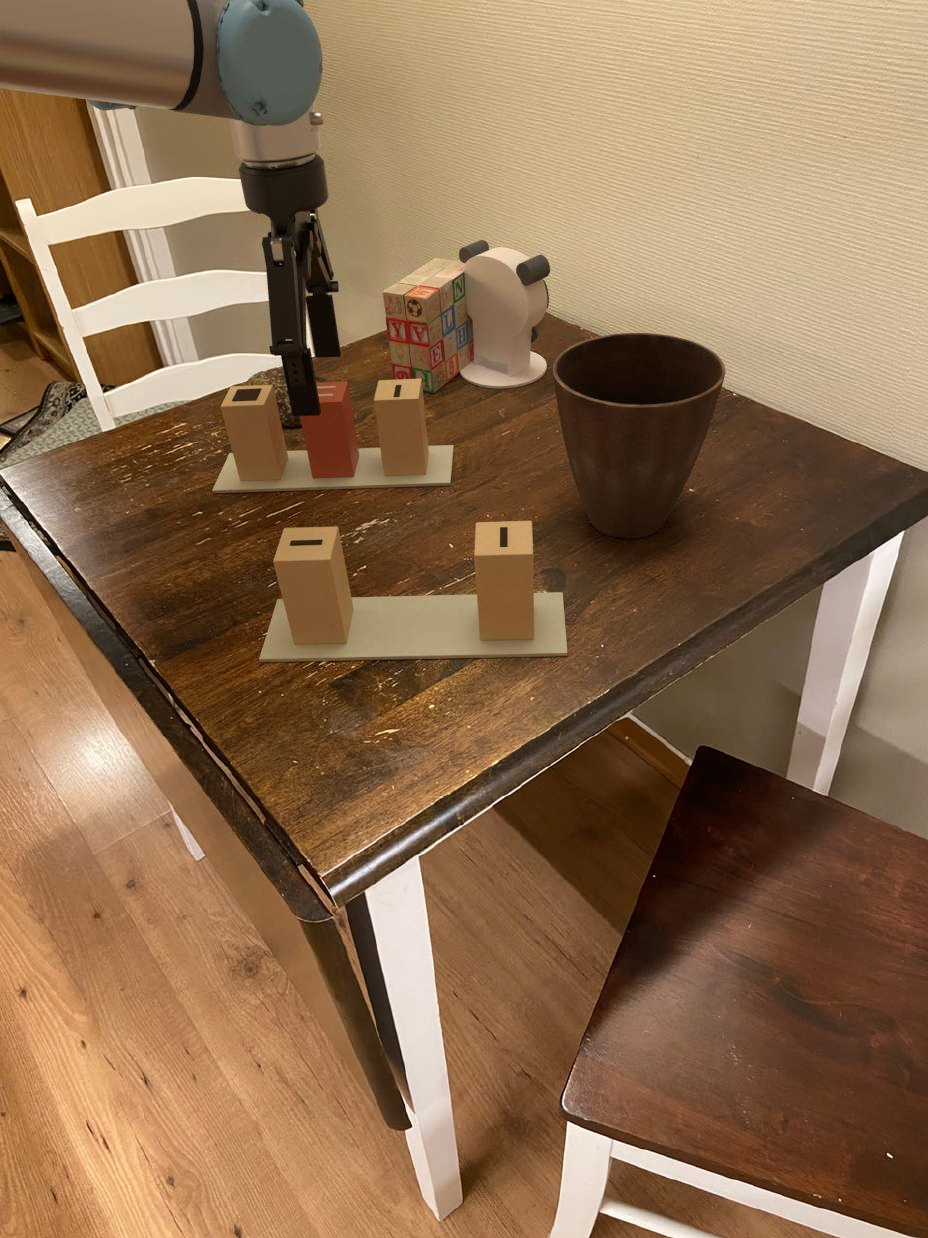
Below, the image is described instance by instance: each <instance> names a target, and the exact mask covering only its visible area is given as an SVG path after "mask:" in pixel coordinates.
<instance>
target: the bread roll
mask: <svg viewBox="0 0 928 1238" xmlns="http://www.w3.org/2000/svg"><path fill="white" fill-rule="evenodd" d="M315 379H316V383H322V382H333V381H332V380H330V379H328V378H326V377H323V376H321V375H320V374H318V373H315ZM256 385H273V388H274V393H275V398H276V402H277V407H278V412H279V416H280V421H281V425H282V427H285V428H286V427H287V428H297V427H300V426H302V423H301V418H300V416H292V411H291V406H290V401H289V395H288V390H287V385H286V380H285V375H284V370H283V365H281V366H278V367H277V366H276V367H272V368H269V369H267V370H260V371H258V372H255V373H254V374H252V375H251V376H250V377H249V378H247V380H246V381H242V384H240V385H239V386H256Z"/></svg>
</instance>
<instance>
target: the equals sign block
mask: <svg viewBox="0 0 928 1238" xmlns="http://www.w3.org/2000/svg"><path fill="white" fill-rule="evenodd" d="M316 384H317V390H318V396H319V402H320V408H321V414H320V415H318V416H300V418H301V423H302V425H301V427H302V432H303V438H304V442H305V447H306V450H307V453H308V458H309V463H310V468H311V473H312V478H338V477H354V475H355V471H356V467H357V463H358V459H359V450H358V448H359V446H358V445H359V444H358V438H357V432H356V425H355V419H354V412H353V408H352V400H351V399H352V398H351V394H350V387H349V382H348V381H332V382H322V383H316Z"/></svg>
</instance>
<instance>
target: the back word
mask: <svg viewBox="0 0 928 1238" xmlns="http://www.w3.org/2000/svg"><path fill="white" fill-rule="evenodd" d="M373 404H374V405H373V406H374V412H375V418H376V427H377V435H378V441H379V447H362V448H361V447H360V448H359V447H358V450H359V459H358V463H357V467H356V471H355V475H354V477H338V478H312V473H311V468H310V463H309V458H308V453H307V449H306V450H287V444H286V439H285V436H284V431H283V426H282V425H281V421H280V416H279V412H278V407H277V402H276V398H275V393H274V388H273V385H256V386H240V385H235V386H234V385H233V386H230V387H229V389H228V391H227V393H226V395H225V397H224V399H223V401H222V403H221V405H220V410H221V414H222V418H223V421H224V425H225V429H226V433H227V436H228V437H227V438H228V440H229V444H230V449H231V451H232V452H229V453H228V455H227V457H226V459H225V462H224V464H223V466H222V468H221V471H220V472H219V475H218V476H217V478H216V481H215V483H214V485H213V488H212V490H211V491H212V494H233V493H234V494H235V493H236V494H237V493H263V492H264V493H265V492H295V491H324V490H327V491H328V490H352V489H354V490H357V489H385V488H388V489H389V488H416V487H419V488H420V487H443V486H447V487H448V486H451V485H452V473H453V462H454V449H455V446H454V444H443V445H442V444H440V445H439V444H438V445H429V440H428V429H427V428H428V427H427V421H426V420H427V419H426V409H425V399H424V391H423V387H422V379H399V380H394V379H380V380H378V381H377V385H376V389H375V393H374V397H373Z"/></svg>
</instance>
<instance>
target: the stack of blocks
mask: <svg viewBox="0 0 928 1238" xmlns="http://www.w3.org/2000/svg"><path fill="white" fill-rule="evenodd" d="M464 265H465V263H462V262H461V261H460V260H455V259H447V258H439V257H434V258H433V259H431V260H430V261H428V262H427V263H424V264H423V265H422V266H420V267H419V268H417V269H416V270H414V271H412V272H411V273H410V274H409V275H406V276H405V277H404V278H402V279H401V280H399V281H397V282H395V283H394V284H392V285H390V286H389V287H387V288H386V289H384V290H383V291H382V298H383V306H384V313H385V325H386V326H385V327H386V335H387V340H388V345H389V346H388V347H389V352H390V360H391V372H392V377H393V379H392V380H399V379H422V387H423V392H427V393H430V394H431V393H432V394H435V393H436V392H438V391H439V390H440V389H441V388H442V387H444V386H445V385H446V384H448V383H449V382H450V381H451V380H453V379H454V378H456V377H457V376H458V375H459V374H460V371H461V370H462V369H463V368H465V367H466V366H467V365H468V364H470V362H471V361H472V360H474V338H473V321H472V319H471V317H470V316H469V314H468V313H467V304H466V296H465V279H464V271H463V268H464Z"/></svg>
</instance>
